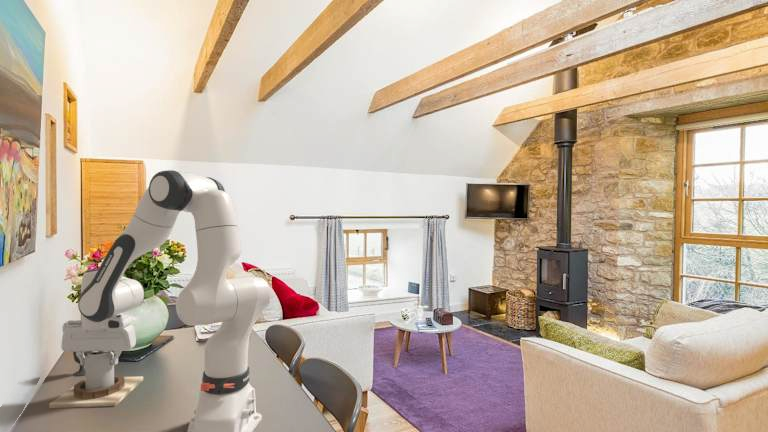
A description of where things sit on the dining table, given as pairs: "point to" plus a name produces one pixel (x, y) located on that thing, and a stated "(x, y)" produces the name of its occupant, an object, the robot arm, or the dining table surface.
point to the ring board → (97, 401)
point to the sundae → (81, 370)
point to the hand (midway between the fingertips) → (99, 364)
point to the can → (98, 370)
